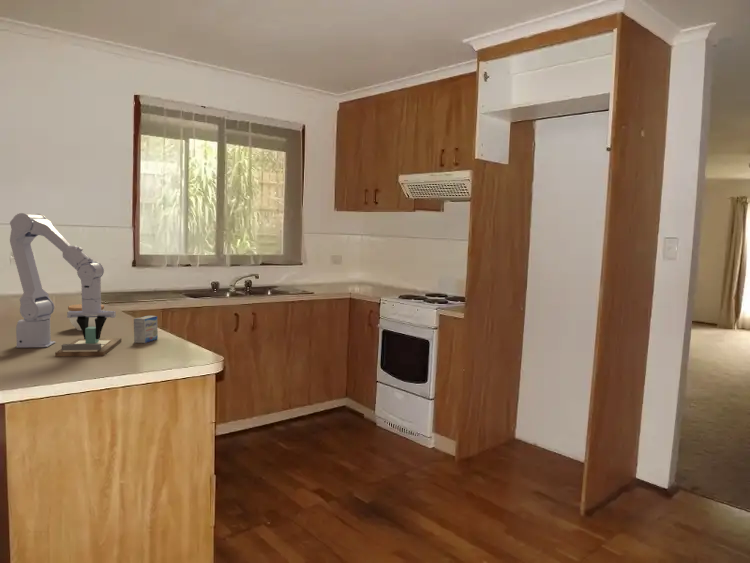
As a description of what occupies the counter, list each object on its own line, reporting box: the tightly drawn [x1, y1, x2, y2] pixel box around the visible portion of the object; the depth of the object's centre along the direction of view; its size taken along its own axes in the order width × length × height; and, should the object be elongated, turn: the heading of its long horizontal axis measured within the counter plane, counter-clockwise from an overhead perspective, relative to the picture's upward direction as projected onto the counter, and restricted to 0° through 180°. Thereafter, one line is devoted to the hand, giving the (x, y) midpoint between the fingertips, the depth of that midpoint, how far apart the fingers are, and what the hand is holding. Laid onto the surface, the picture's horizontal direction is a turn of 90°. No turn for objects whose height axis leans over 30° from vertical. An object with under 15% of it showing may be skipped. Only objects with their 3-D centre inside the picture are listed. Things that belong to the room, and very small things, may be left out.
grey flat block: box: [61, 343, 105, 352], centre depth 181 cm, size 11×9×2 cm
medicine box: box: [133, 315, 159, 344], centre depth 201 cm, size 8×4×9 cm, turn 168°
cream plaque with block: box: [75, 327, 111, 345], centre depth 188 cm, size 10×6×5 cm, turn 101°
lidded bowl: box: [67, 303, 105, 331], centre depth 220 cm, size 13×13×11 cm
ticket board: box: [54, 337, 122, 357], centre depth 187 cm, size 14×22×1 cm, turn 11°
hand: (92, 338), depth 188 cm, fingers closed on cream plaque with block, 3 cm apart
